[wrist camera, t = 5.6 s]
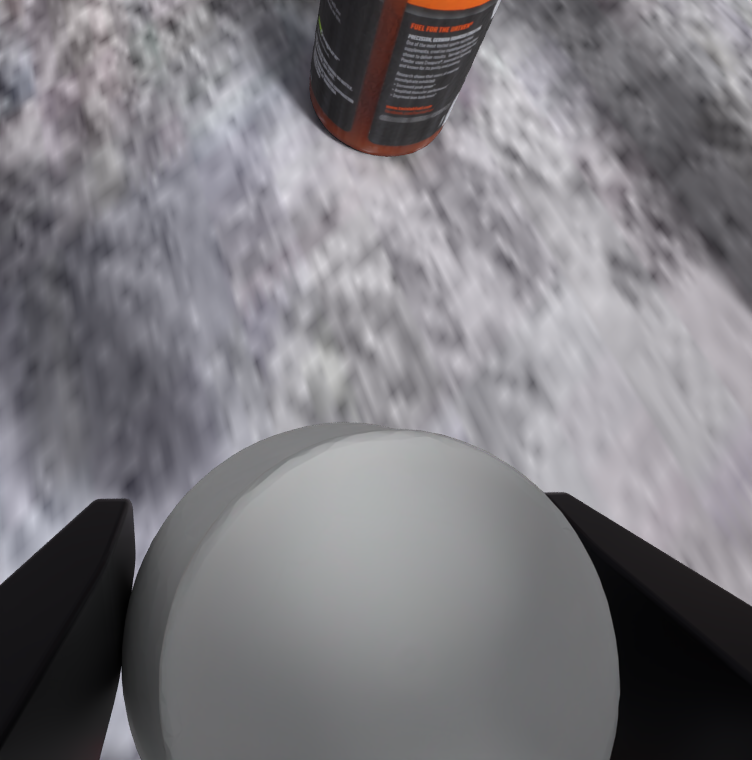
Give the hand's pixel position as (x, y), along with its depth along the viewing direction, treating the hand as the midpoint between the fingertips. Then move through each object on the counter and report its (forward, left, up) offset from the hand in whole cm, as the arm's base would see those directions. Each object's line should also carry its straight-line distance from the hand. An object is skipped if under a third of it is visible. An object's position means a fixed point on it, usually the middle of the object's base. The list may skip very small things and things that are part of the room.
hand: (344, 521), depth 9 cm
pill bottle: (-1, -1, -7) cm, 7 cm away
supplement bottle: (+17, +7, -13) cm, 23 cm away
